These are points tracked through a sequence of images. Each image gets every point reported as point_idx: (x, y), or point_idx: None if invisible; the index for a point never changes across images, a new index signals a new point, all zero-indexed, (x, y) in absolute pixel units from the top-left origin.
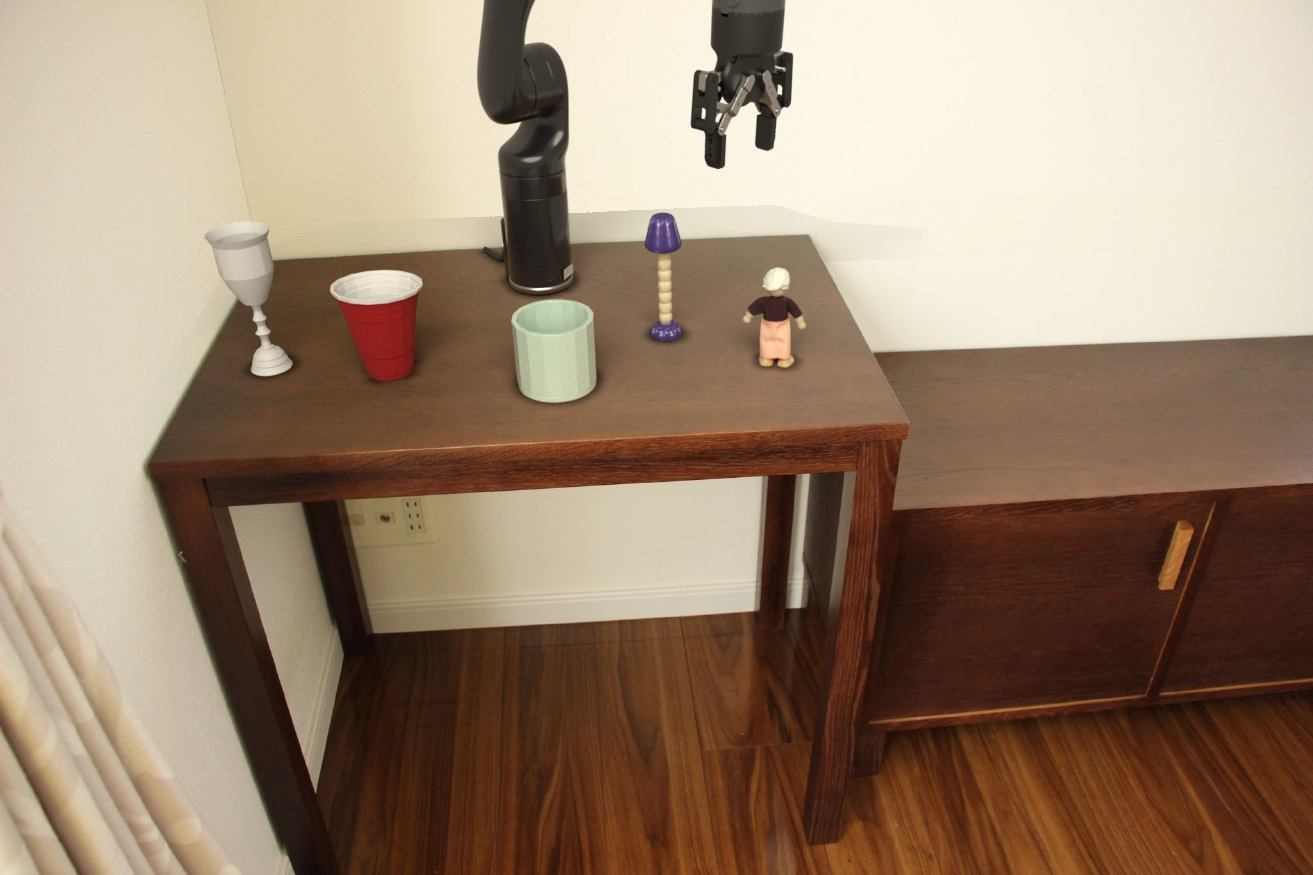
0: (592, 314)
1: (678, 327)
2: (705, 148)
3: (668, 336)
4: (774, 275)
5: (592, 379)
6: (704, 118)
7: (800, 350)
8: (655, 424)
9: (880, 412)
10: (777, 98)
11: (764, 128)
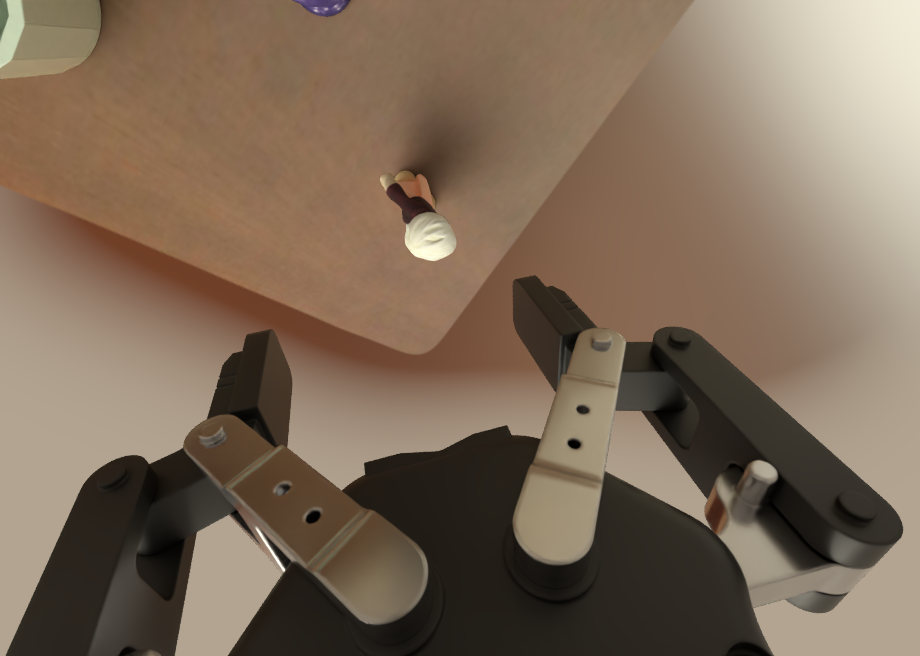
0: (17, 34)
1: (338, 3)
2: (217, 392)
3: (308, 7)
4: (423, 248)
5: (68, 65)
6: (197, 462)
7: (462, 191)
8: (152, 225)
9: (422, 345)
10: (652, 398)
11: (541, 343)
